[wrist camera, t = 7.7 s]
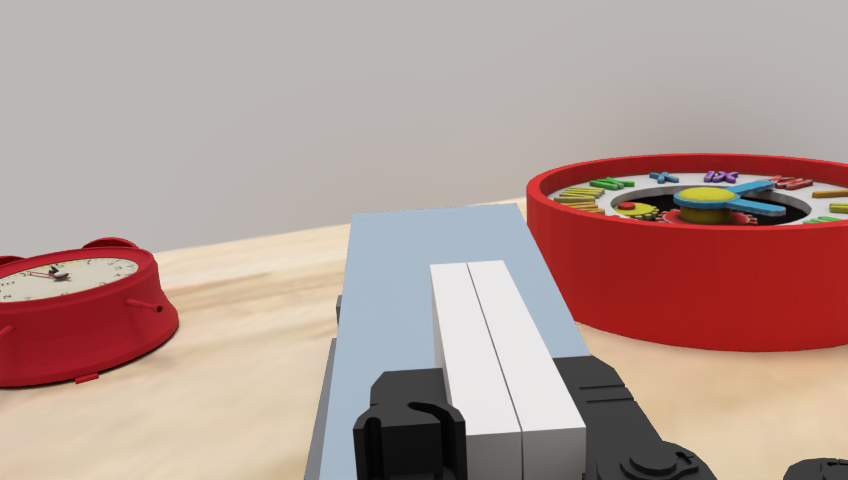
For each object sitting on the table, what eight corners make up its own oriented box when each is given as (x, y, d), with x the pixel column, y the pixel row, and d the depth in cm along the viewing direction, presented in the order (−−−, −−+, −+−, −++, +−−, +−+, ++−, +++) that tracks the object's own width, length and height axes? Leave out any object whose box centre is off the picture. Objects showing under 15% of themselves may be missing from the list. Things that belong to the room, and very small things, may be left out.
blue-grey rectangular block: (668, 512, 12) (516, 203, 25) (311, 539, 12) (352, 213, 25) (641, 737, 14) (515, 343, 28) (345, 762, 14) (366, 353, 28)
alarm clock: (-70, 348, 28) (-67, 205, 39) (-33, 465, 30) (-40, 301, 42) (195, 289, 33) (130, 178, 44) (206, 394, 36) (142, 264, 47)
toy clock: (458, 184, 42) (681, 144, 52) (462, 275, 44) (677, 220, 53) (760, 260, 26) (1005, 180, 35) (749, 402, 27) (986, 289, 37)
